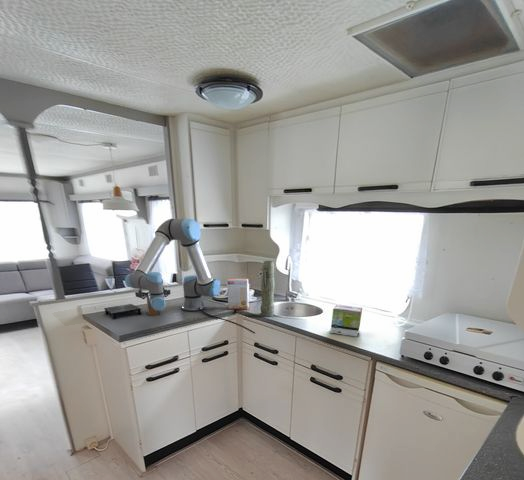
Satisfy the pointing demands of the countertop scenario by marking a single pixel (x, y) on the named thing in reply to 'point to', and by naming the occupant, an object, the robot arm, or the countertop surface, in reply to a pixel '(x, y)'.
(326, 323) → the countertop surface
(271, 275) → the thermos
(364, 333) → the countertop surface
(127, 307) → the black footed platform
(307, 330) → the countertop surface
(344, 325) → the tea box
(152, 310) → the packet
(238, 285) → the cracker box
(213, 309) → the countertop surface
